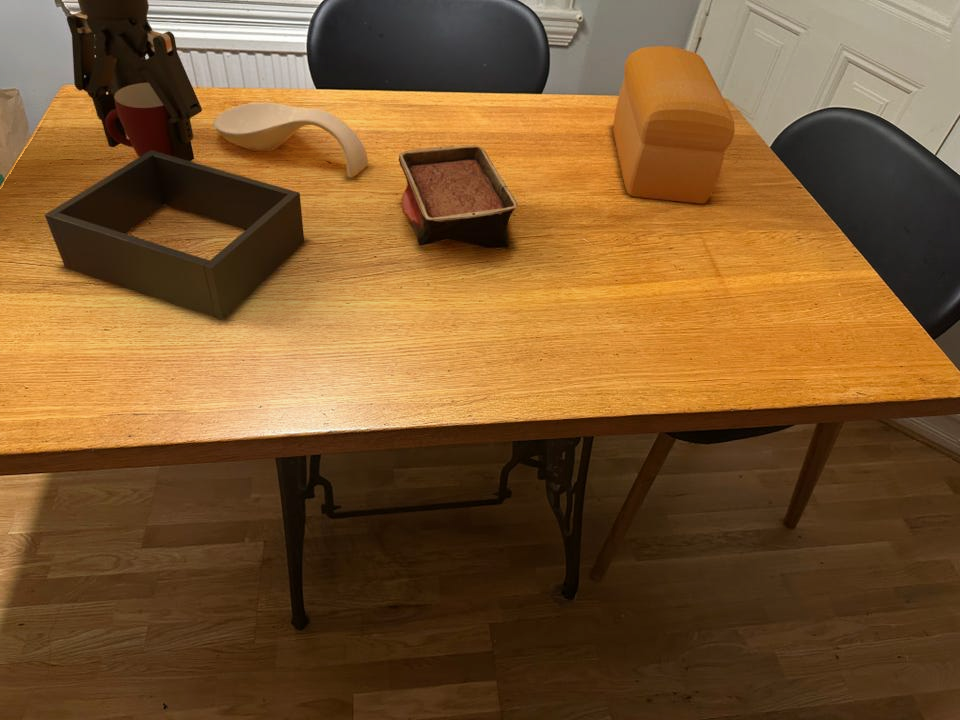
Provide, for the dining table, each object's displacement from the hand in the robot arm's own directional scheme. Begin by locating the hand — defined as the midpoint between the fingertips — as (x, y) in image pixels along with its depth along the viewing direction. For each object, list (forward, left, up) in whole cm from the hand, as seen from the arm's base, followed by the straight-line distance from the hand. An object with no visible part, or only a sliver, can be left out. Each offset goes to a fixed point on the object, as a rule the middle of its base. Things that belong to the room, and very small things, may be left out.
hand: (151, 152), depth 96 cm
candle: (-10, +9, -2) cm, 14 cm away
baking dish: (+43, +6, -2) cm, 43 cm away
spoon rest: (+14, +13, -2) cm, 19 cm away
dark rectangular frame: (+17, -15, -2) cm, 23 cm away
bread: (+65, +39, -2) cm, 76 cm away
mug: (0, 0, -2) cm, 2 cm away
